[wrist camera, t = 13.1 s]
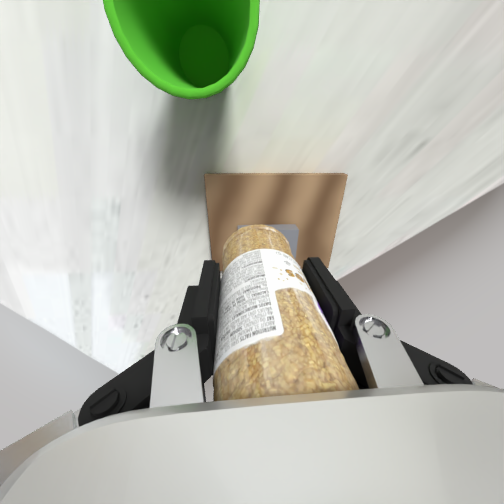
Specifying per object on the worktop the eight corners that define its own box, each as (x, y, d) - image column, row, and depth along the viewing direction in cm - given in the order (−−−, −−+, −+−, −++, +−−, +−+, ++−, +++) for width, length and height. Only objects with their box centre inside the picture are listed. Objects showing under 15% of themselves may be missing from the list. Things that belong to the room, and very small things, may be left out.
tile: (298, 229, 28) (237, 230, 28) (293, 274, 32) (238, 275, 31) (294, 223, 30) (237, 224, 30) (290, 266, 33) (238, 267, 33)
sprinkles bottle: (300, 260, 15) (562, 735, 3) (245, 291, 16) (288, 753, 4) (267, 206, 13) (650, 976, 1) (206, 246, 14) (57, 901, 2)
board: (343, 173, 28) (347, 174, 27) (325, 263, 35) (328, 267, 34) (205, 173, 27) (204, 175, 26) (213, 267, 34) (213, 271, 33)
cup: (218, 131, 25) (207, 129, 16) (143, 69, 22) (72, 19, 12) (266, 51, 22) (291, -13, 12) (187, -34, 19) (139, -206, 9)
